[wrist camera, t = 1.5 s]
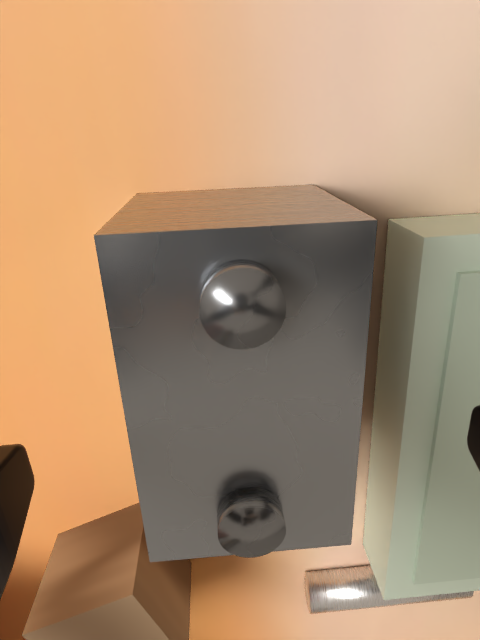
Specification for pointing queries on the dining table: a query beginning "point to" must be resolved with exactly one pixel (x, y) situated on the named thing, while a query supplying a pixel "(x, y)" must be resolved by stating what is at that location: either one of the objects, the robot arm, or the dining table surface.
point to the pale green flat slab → (426, 411)
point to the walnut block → (110, 586)
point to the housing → (240, 364)
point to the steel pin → (355, 591)
